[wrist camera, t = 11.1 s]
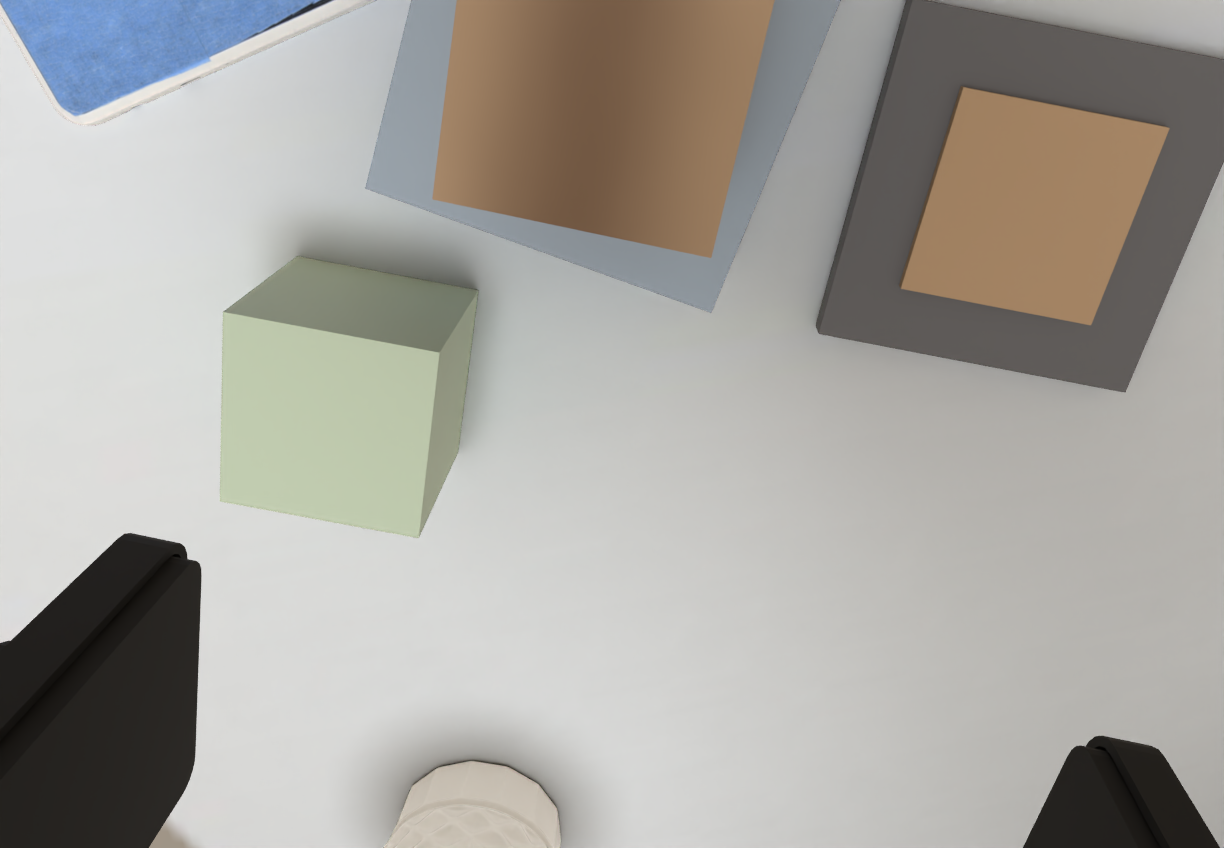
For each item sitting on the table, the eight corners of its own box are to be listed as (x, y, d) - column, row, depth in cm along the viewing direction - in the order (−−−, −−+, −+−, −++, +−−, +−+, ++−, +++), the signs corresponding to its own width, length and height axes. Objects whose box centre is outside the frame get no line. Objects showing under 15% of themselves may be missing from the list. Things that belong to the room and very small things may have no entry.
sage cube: (479, 289, 33) (439, 352, 28) (458, 450, 36) (418, 538, 30) (298, 255, 33) (223, 311, 28) (290, 419, 36) (219, 501, 30)
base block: (837, -60, 29) (867, -64, 24) (707, 264, 33) (711, 312, 28) (501, -193, 28) (466, -224, 23) (410, 156, 32) (365, 188, 27)
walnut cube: (762, -46, 24) (786, -49, 19) (704, 198, 27) (711, 258, 21) (517, -100, 24) (471, -119, 19) (482, 151, 27) (431, 199, 21)
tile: (1249, 64, 29) (1269, 68, 28) (1115, 383, 33) (1129, 396, 32) (907, -3, 29) (915, -2, 28) (815, 325, 33) (820, 336, 32)
